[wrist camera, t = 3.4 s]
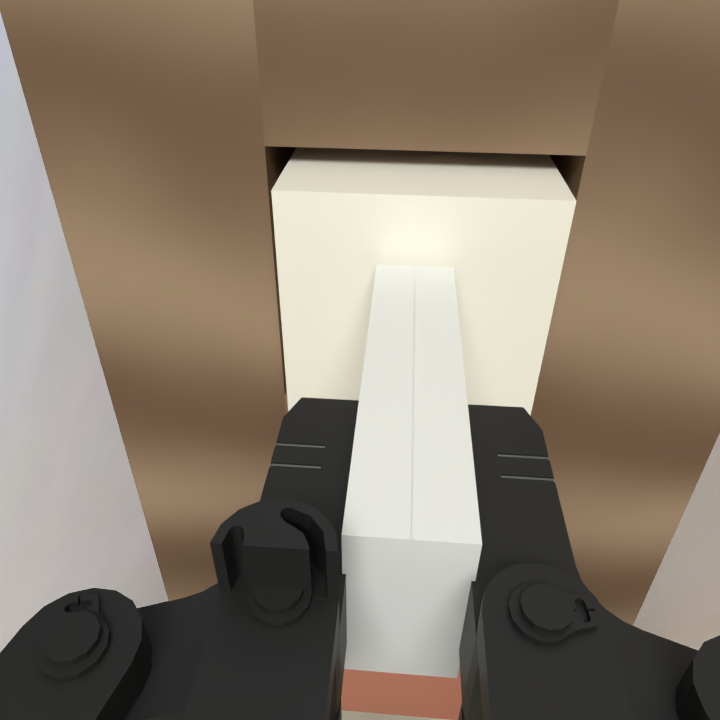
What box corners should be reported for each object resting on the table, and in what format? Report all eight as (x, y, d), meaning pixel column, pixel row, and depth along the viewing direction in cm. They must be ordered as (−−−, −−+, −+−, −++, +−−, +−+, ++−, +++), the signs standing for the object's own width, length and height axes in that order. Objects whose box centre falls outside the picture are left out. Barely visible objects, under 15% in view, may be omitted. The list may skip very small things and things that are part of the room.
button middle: (469, 594, 23) (478, 721, 19) (319, 583, 23) (300, 706, 19) (488, 488, 19) (504, 616, 16) (314, 476, 20) (289, 600, 16)
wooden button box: (534, 698, 33) (551, 806, 29) (242, 673, 34) (218, 774, 30) (774, -23, 14) (918, -7, 10) (107, -31, 15) (-9, -20, 11)
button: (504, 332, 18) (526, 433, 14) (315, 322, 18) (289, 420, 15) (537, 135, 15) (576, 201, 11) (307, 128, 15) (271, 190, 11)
